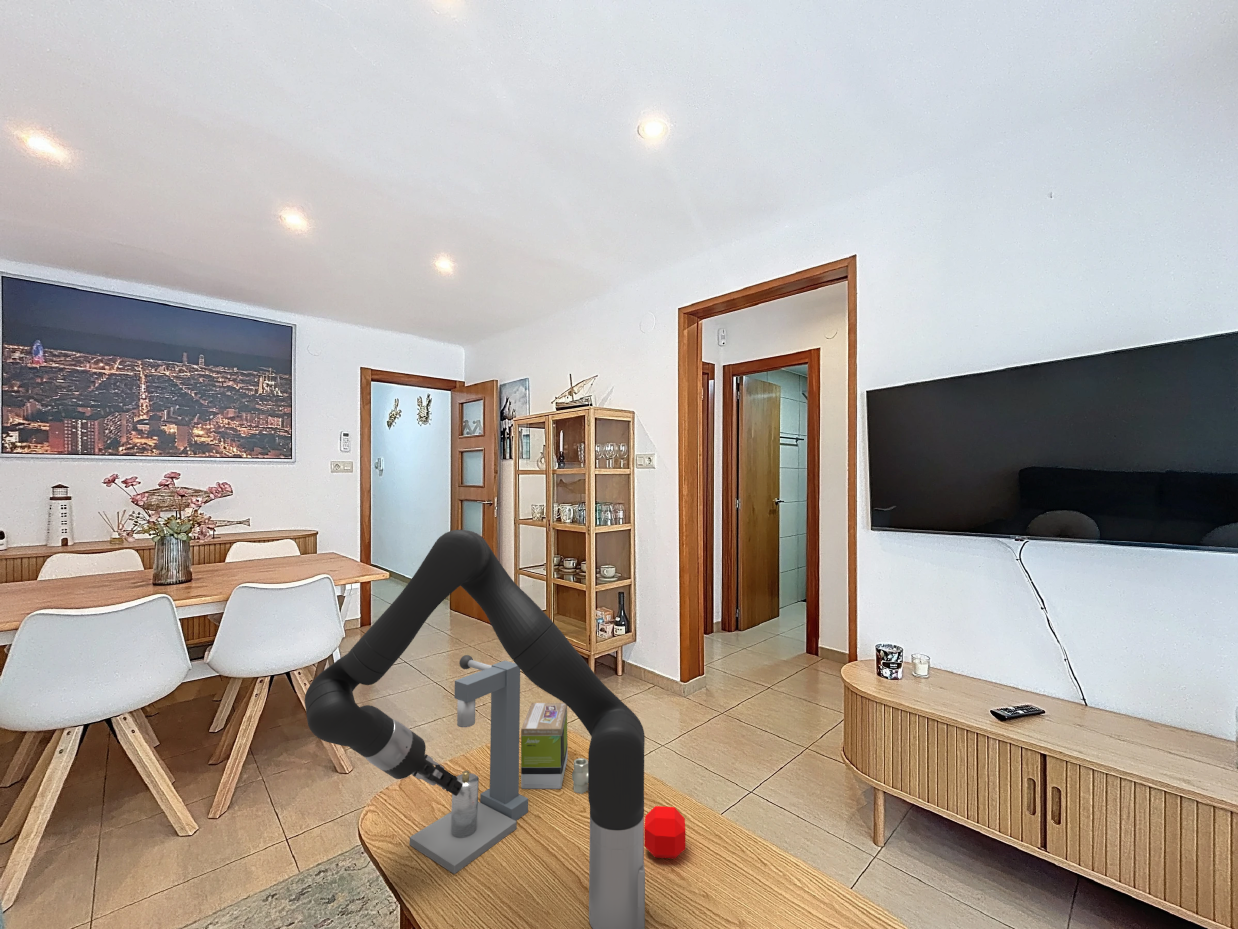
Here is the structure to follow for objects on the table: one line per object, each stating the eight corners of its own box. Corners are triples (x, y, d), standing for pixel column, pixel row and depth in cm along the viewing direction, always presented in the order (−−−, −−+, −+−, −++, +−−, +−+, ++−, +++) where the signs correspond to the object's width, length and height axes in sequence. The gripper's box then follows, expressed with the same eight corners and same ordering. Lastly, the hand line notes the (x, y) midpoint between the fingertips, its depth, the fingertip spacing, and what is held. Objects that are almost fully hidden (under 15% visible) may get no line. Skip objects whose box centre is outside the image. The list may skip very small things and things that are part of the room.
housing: (479, 821, 112) (481, 765, 113) (473, 838, 107) (475, 779, 107) (455, 821, 112) (456, 765, 113) (447, 837, 107) (449, 779, 107)
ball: (684, 839, 109) (684, 801, 110) (685, 867, 101) (685, 826, 102) (645, 837, 110) (645, 799, 110) (643, 864, 102) (644, 824, 102)
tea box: (530, 757, 142) (531, 701, 142) (568, 757, 142) (568, 701, 142) (519, 790, 127) (520, 727, 127) (561, 790, 127) (562, 727, 127)
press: (454, 874, 99) (457, 700, 100) (386, 829, 112) (389, 675, 113) (534, 815, 117) (536, 668, 118) (468, 782, 129) (470, 649, 131)
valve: (566, 795, 125) (614, 806, 121) (567, 767, 125) (614, 777, 121) (578, 780, 131) (624, 790, 127) (578, 753, 131) (624, 762, 127)
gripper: (430, 738, 95) (479, 774, 104) (385, 717, 104) (434, 753, 113) (402, 782, 91) (457, 816, 100) (358, 756, 99) (411, 790, 108)
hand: (445, 782), depth 106 cm, fingers open, 8 cm apart
